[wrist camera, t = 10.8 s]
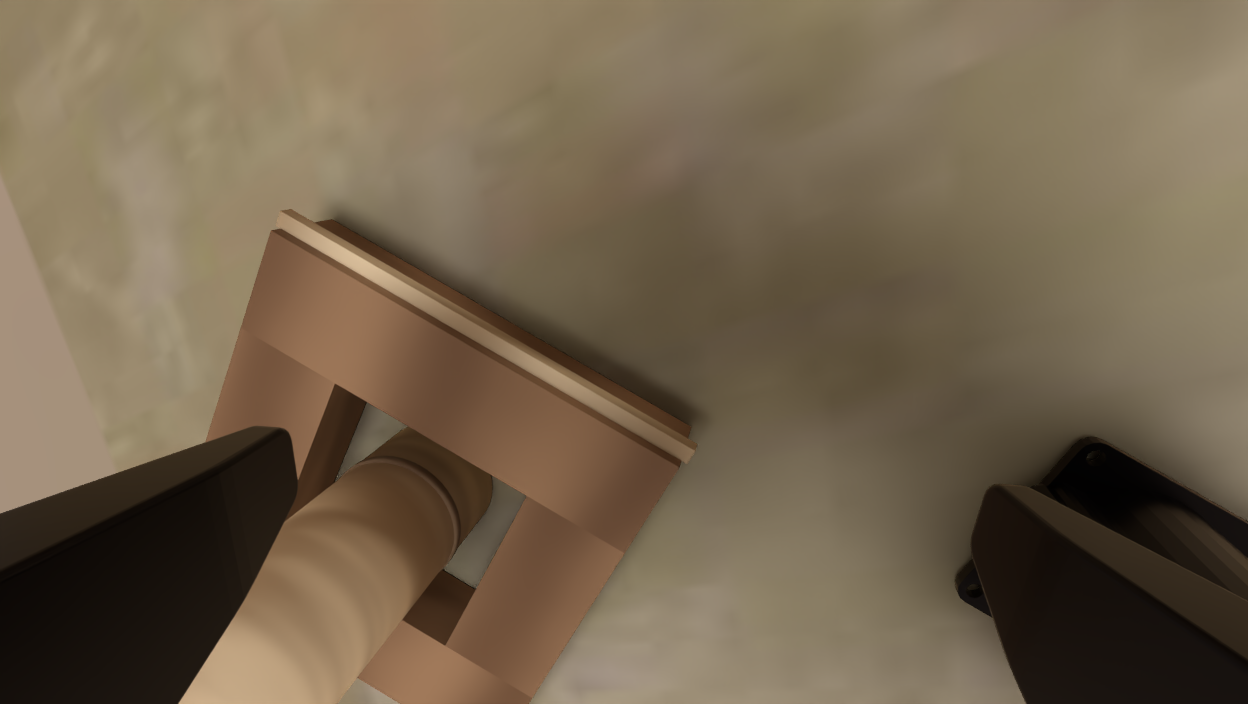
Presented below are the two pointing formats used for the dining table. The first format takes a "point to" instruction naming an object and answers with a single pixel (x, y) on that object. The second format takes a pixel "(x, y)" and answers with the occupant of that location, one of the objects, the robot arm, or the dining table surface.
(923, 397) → the dining table surface
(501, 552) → the socket board
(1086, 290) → the dining table surface
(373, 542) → the peg
